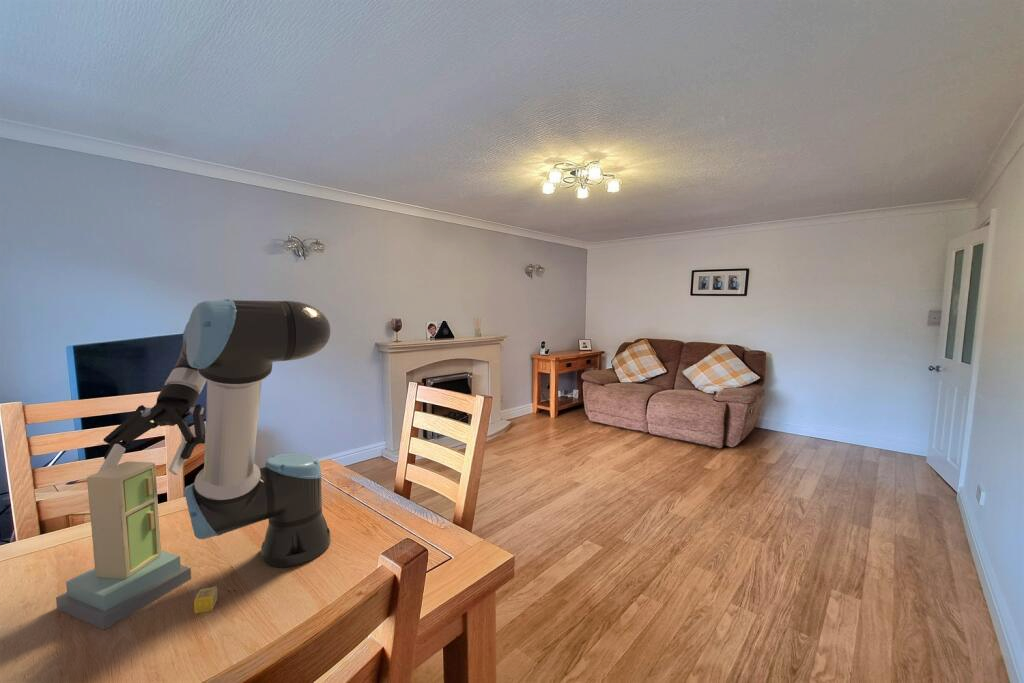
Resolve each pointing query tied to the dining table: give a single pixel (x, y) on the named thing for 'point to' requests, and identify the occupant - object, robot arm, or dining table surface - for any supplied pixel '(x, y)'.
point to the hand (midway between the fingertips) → (138, 473)
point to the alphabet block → (205, 599)
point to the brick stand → (121, 591)
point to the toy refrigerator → (124, 519)
